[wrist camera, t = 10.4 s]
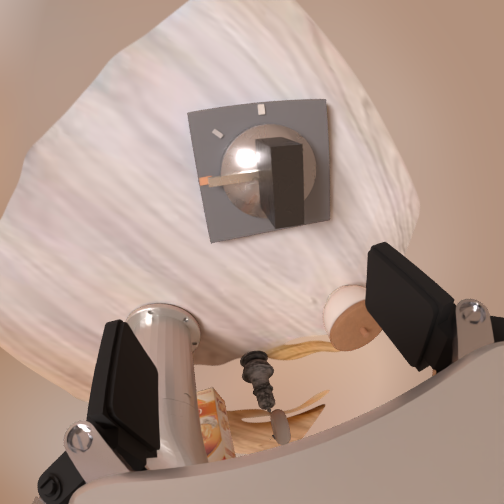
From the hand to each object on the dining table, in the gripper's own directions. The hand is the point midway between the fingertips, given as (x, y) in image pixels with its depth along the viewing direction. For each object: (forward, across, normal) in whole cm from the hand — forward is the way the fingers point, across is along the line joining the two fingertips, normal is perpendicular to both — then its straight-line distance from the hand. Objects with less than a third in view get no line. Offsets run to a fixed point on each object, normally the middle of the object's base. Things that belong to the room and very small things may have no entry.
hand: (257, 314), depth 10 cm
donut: (+27, 0, +61) cm, 67 cm away
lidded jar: (+26, -17, +27) cm, 42 cm away
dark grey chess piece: (+27, +1, +36) cm, 45 cm away
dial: (+24, -7, +1) cm, 25 cm away
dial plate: (+26, -7, +1) cm, 27 cm away
